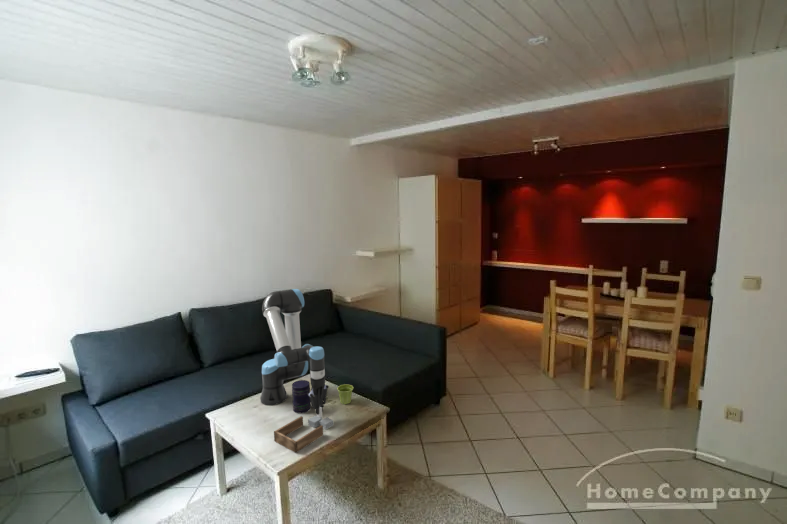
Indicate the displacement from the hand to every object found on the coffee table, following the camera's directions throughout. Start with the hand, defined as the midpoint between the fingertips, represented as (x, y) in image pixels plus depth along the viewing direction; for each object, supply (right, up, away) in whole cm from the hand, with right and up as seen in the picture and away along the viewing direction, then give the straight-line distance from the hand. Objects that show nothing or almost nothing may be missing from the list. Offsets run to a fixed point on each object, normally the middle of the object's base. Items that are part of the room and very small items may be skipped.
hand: (319, 418), depth 198 cm
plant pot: (+11, +1, +21) cm, 24 cm away
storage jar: (-13, 0, +13) cm, 18 cm away
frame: (-7, -3, -14) cm, 16 cm away
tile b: (+4, -2, -4) cm, 6 cm away
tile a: (-2, -2, -2) cm, 4 cm away
